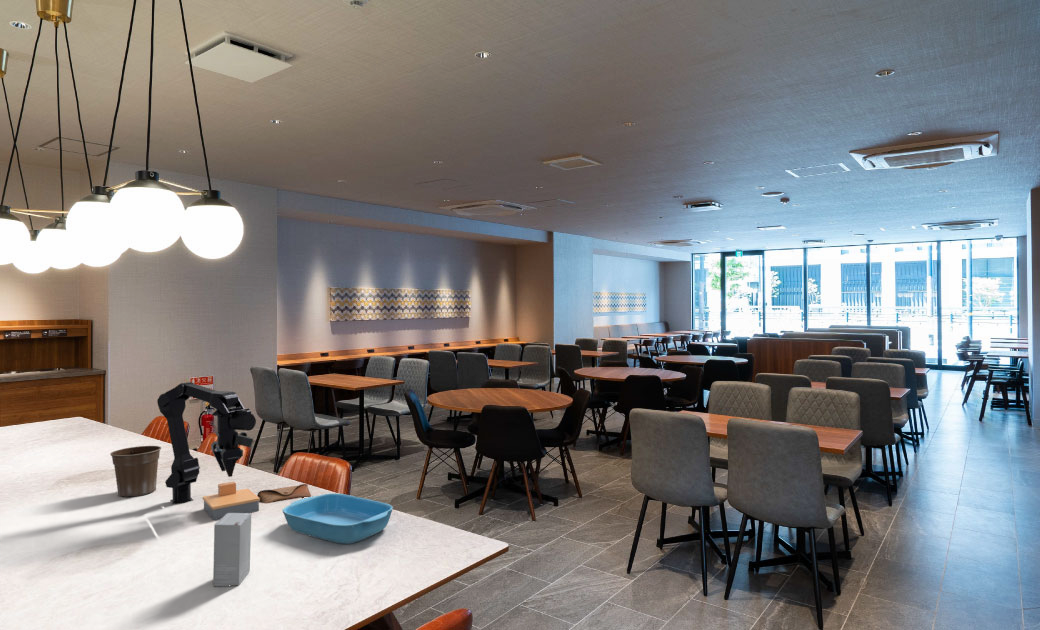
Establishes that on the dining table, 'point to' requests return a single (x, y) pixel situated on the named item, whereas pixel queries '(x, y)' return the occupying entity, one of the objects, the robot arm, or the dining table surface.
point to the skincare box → (232, 549)
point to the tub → (231, 509)
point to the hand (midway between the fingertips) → (226, 473)
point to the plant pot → (136, 470)
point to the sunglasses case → (284, 493)
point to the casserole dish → (338, 517)
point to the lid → (230, 496)
